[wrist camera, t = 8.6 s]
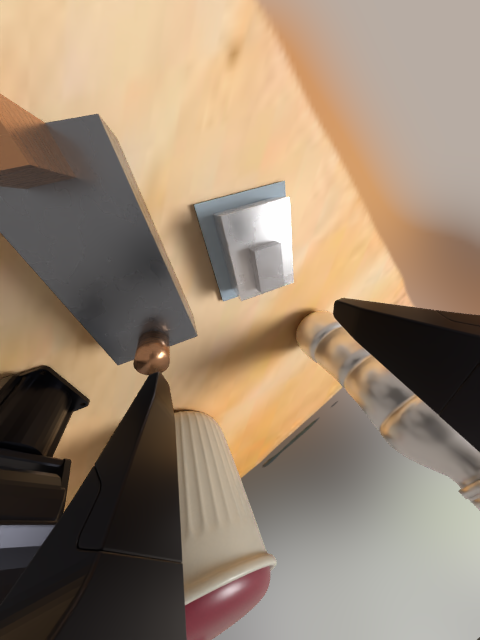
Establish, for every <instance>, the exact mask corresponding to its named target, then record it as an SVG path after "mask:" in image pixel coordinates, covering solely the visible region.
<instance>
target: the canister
mask: <svg viewBox="0 0 480 640" xmlns="http://www.w3.org/2000/svg"><path fill="white" fill-rule="evenodd" d="M174 416H175V426H176V445H177V465H178V484H179V503H180V522H181V542H182V563H183V578H184V597H185V616H186V635H187V640H212V639H213V638H215V637H216V636H218V635H219V634H221V633H222V632H223V631H225V630H226V629H228V628H229V627H230V626H232V625H233V624H234V623H235V622H237V621H238V620H239V619H241V618H242V617H243V616H244V615H246V614H247V613H248V612H249V611H250V610H251V609H252V608H253V607H254V606H255V605H256V604H257V603H258V602H259V601H260V600H261V599H262V598H263V596H264V595H265V593H266V591H267V589H268V586H269V582H270V571H271V570H272V569H273V568H274V567H275V566H276V564H277V561H276V559H275V557H274V556H273V555H272V554H268V553H267V551H266V549H265V546H264V543H263V540H262V537H261V535H260V532H259V529H258V526H257V523H256V521H255V517H254V515H253V512H252V509H251V507H250V504H249V501H248V498H247V495H246V493H245V490H244V487H243V484H242V482H241V479H240V476H239V473H238V470H237V468H236V465H235V462H234V460H233V457H232V454H231V452H230V449H229V447H228V444H227V442H226V439H225V437H224V434H223V432H222V430H221V428H220V426H219V424H218V423H217V422H216V421H215V420H214V419H213V418H212V417H210V416H209V415H207V414H205V413H200V412H198V411H197V412H194V411H183V412H181V411H179V412H176V413H174Z"/></svg>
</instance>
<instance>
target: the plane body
mask: <svg viewBox="0 0 480 640" xmlns="http://www.w3.org/2000/svg"><path fill="white" fill-rule="evenodd" d="M0 233H1V234H2V235H3V236H4V237H5V238H6V239H7V241H8V242H9V243H10V244H11V245H12V246H13V247H14V248H15V250H16V251H17V252H18V253H19V254H20V255H21V256H22V258H23V259H24V260H25V261H26V262H27V263H28V264H29V265H30V267H31V268H32V269H33V270H34V271H35V272H36V273H37V274H38V276H39V277H40V278H41V279H42V280H43V281H44V282H45V284H46V285H47V286H48V287H49V288H50V289H51V290H52V291H53V293H54V294H55V295H56V296H57V297H58V298H59V299H60V300H61V302H62V303H63V304H64V305H65V306H66V307H67V308H68V310H69V311H70V312H71V313H72V314H73V315H74V316H75V317H76V319H77V320H78V321H79V322H80V323H81V324H82V325H83V327H84V328H85V329H86V330H87V331H88V332H89V333H90V334H91V336H92V337H93V338H94V339H95V340H96V341H97V342H98V343H99V345H100V346H101V347H102V348H103V349H104V350H105V351H106V353H107V354H108V355H109V356H110V357H111V358H112V359H113V360H114V362H115V363H116V364H117V365H120V364H123V363H126V362H129V361H131V360H134V368H135V369H136V370H137V371H138V372H139V373H141V374H145V375H151V374H153V373H156V372H160V373H162V372H163V371H165V370H166V369H167V368H168V366H169V362H170V358H169V346H172V345H175V344H177V343H180V342H183V341H185V340H188V339H191V338H194V337H196V336H197V331H196V327H195V322H194V318H193V314H192V312H191V309H190V307H189V305H188V302H187V300H186V298H185V295H184V293H183V291H182V288H181V286H180V284H179V281H178V279H177V277H176V274H175V272H174V270H173V267H172V265H171V263H170V261H169V258H168V256H167V254H166V251H165V249H164V247H163V244H162V242H161V240H160V237H159V235H158V233H157V230H156V228H155V226H154V223H153V221H152V219H151V216H150V214H149V212H148V209H147V207H146V205H145V202H144V200H143V198H142V195H141V193H140V191H139V188H138V186H137V184H136V181H135V179H134V177H133V174H132V172H131V170H130V167H129V165H128V163H127V160H126V158H125V156H124V154H123V151H122V149H121V147H120V144H119V142H118V140H117V138H116V136H115V135H114V134H113V132H112V131H111V130H110V129H109V127H108V126H107V125H106V123H105V122H104V121H103V120H102V118H101V117H100V116H99V114H94V115H88V116H83V117H77V118H71V119H66V120H60V121H54V122H49V123H44V122H43V121H41V120H40V119H38V118H36V117H35V116H33V115H32V114H30V113H29V112H27V111H26V110H24V109H23V108H21V107H20V106H18V105H17V104H15V103H14V102H12V101H10V100H9V99H7V98H6V97H4V96H3V95H1V94H0Z"/></svg>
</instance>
